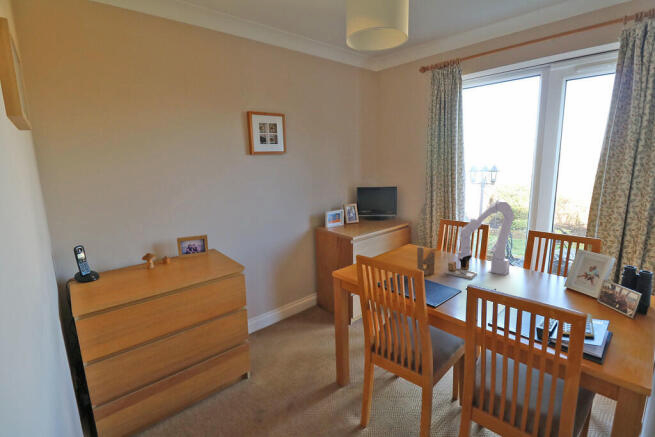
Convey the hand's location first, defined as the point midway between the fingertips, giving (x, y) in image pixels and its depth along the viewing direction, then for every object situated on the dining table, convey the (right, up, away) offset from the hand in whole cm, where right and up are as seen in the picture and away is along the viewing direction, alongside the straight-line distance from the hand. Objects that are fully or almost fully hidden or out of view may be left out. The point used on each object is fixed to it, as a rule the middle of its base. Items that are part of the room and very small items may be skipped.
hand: (464, 266), depth 195 cm
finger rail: (-6, -3, -8) cm, 10 cm away
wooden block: (-27, -4, -5) cm, 28 cm away
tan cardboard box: (0, -1, 0) cm, 1 cm away
